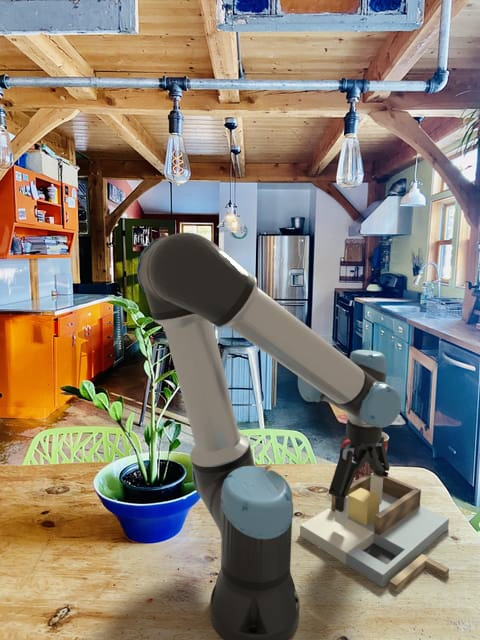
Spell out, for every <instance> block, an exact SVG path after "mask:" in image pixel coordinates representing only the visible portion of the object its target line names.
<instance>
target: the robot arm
mask: <svg viewBox="0 0 480 640" xmlns="http://www.w3.org/2000/svg"><path fill="white" fill-rule="evenodd" d="M136 274H137V275H136V276H137V280H138V283H139V286H140V287H141V289H142V290H143V292H144V293H145V296H146V300H147V303H148V306H149V310H150V314H151V317H152V320H153V322H155V323H156V324H158V325H159V326H161V327H163V328H164V332H165V333H164V334H165V336H166V340H167V344H168V347H169V351H170V354H171V359H172V363H173V366H174V369H175V373H176V374H175V375H176V378H177V380H178V386H179V389H180V392H181V396H182V400H183V404H184V407H185V411H186V415H187V418H188V423H189V427H190V430H191V433H192V437H193V443H194V446H193V448H192V449H191V451H190V454H189V458H190V461H191V466H192V467H191V475H192V476H191V477H192V483H193V486H194V489H195V491H196V493H197V494H198V496H199V497H200V499H201V500H202V501H203V503H204V505H205V507H206V509H207V511H208V512H209V514H210V516H211V517H212V520H213V521H214V523H215V525H216V527H217V528H218V531H219V532H220V543H221V544H220V550H221V551H220V552H221V553H220V569H219V572H218V574H217V578H216V581H215V585H214V586H213V589H212V591H211V594H210V598H209V599H210V600H209V601H210V603H209V617H210V621H211V624H212V626H213V628H214V630H215V632H216V633H217V634H218V635H219V636H220V637H221V638H222V639H223V640H289V639H291V637H292V636H293V635H294V634H295V633H296V631H297V629H298V625H299V621H300V605H301V604H300V599H299V598H300V597H299V595H298V593H297V590H296V586H295V583H294V579H293V575H292V573H291V563H292V562H291V558H292V535H293V534H292V533H293V532H292V531H293V517H294V502H293V494H292V488H291V487H290V484H289V483H288V482H287V480H286V479H285V477H283V476H282V475H281V474H279V473H278V472H276V471H274V470H272V469H271V470H270V469H269V470H268V469H267V468H266V467H263V466H259V465H258V466H257V465H256V464H255V461H254V457H253V452H252V448H251V443H250V441H249V437H247V436H246V435H245V434H243V433H241V432H239V428H238V423H237V420H236V416H235V412H234V407H233V403H232V399H231V395H230V391H229V386H228V382H227V377H226V373H225V370H224V365H223V361H222V358H221V353H220V347H219V344H218V341H217V336H216V333H215V329H214V326H216V327H217V328H219V329H222V328H225V327H228V328H230V329H231V330H233V331H234V332H235V333H236V334H238V335H240V337H242V338H244V339H245V340H246V341H248V342H249V343H251V344H252V345H254V346H255V347H257V348H258V349H259V350H261V351H262V352H264V353H265V354H266V355H268V356H269V357H270V358H272V359H273V360H275V362H278V363H279V364H280V365H282V366H283V367H285V368H286V369H288V370H289V371H291V372H292V373H293V374H295V375H296V376H297V388H298V391H299V394H300V396H301V398H303V400H304V401H306V402H309V403H310V402H316V403H319V402H321V401H322V402H327V403H329V405H333V406H335V407H336V408H338V409H340V410H341V411H344V412H346V419H347V420H346V425H345V426H346V428H345V435H346V438H347V439H349V440H350V443H349V446H348V448H346V447H345V448H341V447H340V450H339V457H338V461H337V465H336V467H335V470H334V474H333V477H332V480H331V482H330V487H329V490H328V494H329V495H330V496H332V495H333V496H335V522H337V523H339V524H340V525H342V526H344V527H346V526H347V521H348V504H349V497H348V496H347V493H348V491H349V489H350V487H351V485H352V483H353V482H354V481H355V476H356V473H357V471H358V470H360V469H361V468H362V465H363V464H365V463H366V462H368V463H369V465H370V466H371V468H372V470H373V472H375V474H374V473H372V474H371V483H370V492H371V493H374V494H376V495H378V496H380V504H381V503H382V488H383V476H384V477H388V476H389V470H390V468H391V467H390V465H389V464H390V463H389V459H388V455H387V452H386V451H385V446H384V437H382V432H383V428H386V427H389V426H391V425H392V424H393V423H395V422H396V420H397V418H398V417H399V415H400V414H401V413H400V412H401V411H402V398H401V396H400V393H399V391H398V390H397V389H396V388H394V387H393V386H390V385H389V384H388V383H387V382H386V379H387V378H386V377H387V357H386V356H385V355H384V354H383V353H382V352H380V351H377V350H368V349H356V350H353V351H351V352H350V356H349V358H348V357H347V356H346V355H344V354H343V353H342V352H341V351H340V350H338V349H337V348H335V347H334V346H333V345H332V344H331V343H329V342H328V341H326V340H325V339H324V338H323V337H321V336H320V335H319V334H318V333H317V332H315V331H314V330H312V329H311V328H310V327H309V326H307V324H305V323H304V322H303V321H301V319H299V318H297V317H296V316H295V315H294V314H292V313H291V312H290V311H288V310H287V309H286V308H285V307H283V306H282V305H280V304H279V303H278V302H277V301H276V300H275V299H273V298H272V297H271V296H270V295H268V294H266V292H264V291H263V290H262V289H260V288H259V287H258V284H257V283H258V280H257V277H256V276H255V275H254V274H252V273H251V272H250V271H248V270H247V269H246V268H245V267H243V265H241V264H240V262H237V261H236V260H235V259H234V258H232V256H231V255H229V254H228V253H227V252H225V251H224V250H223V249H221V248H220V247H219V246H218V245H217V244H216V243H214V242H213V241H211V240H210V239H208V238H207V237H205V236H203V235H200V234H197V233H194V232H177V233H174V234H171V235H168V236H167V235H166V236H163V237H159V238H156V239H155V240H153V241H152V242H150V243H149V244H147V246H146V247H145V248H144V249H143V250H142V252H141V254H140V256H139V258H138V261H137V267H136ZM356 463H357V464H356ZM382 463H383V464H382Z"/></svg>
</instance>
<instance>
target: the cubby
mask: <svg viewBox="0 0 480 640" xmlns="http://www.w3.org/2000/svg"><path fill="white" fill-rule="evenodd" d="M372 473H374V474H375V472H371V473H369V474H367V475H366V476H364V477H362V478H360V479H358V480H354V481H353V482H352V485H351V487H350V489H349V491H348V493H347V496H348V495H349V494H351V493H352V492H354V491H356V490H358V489H359V488H363V489H365V490H367V491H369V492H370V483H371V474H372ZM382 492H384V493H386V494H389V495H391V496H393V497H395V498H398V499H399V500H397V501H396V502H394V503H393V504H391V505H390V506H388V507H387V508H385V509H384V510H382V511H381V512H379V513H378V514H376V515H375V526H374V533H375V534H377V535H381V534H382V533H383V532H385V531H386V530H387V529H389V528H390V527H391V526H393V525H394V524H396V523H397V522H398V521H400V520H401V519H402V518H404V517H405V516H406V515H408V514H409V513H411V512H412V511H413V510H415V509H416V508H417V507H419V506H421V497H422V496H421V495H422V489H420V488H418V487H415V486H413V485H410V484H408V483H405V482H404V481H401V480H398V479H395V478H393V477H391V476H389V475H388V477H384V476H383V488H382ZM330 507H331V510H332V511H334V512H335V496H333V495H331V506H330Z"/></svg>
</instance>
